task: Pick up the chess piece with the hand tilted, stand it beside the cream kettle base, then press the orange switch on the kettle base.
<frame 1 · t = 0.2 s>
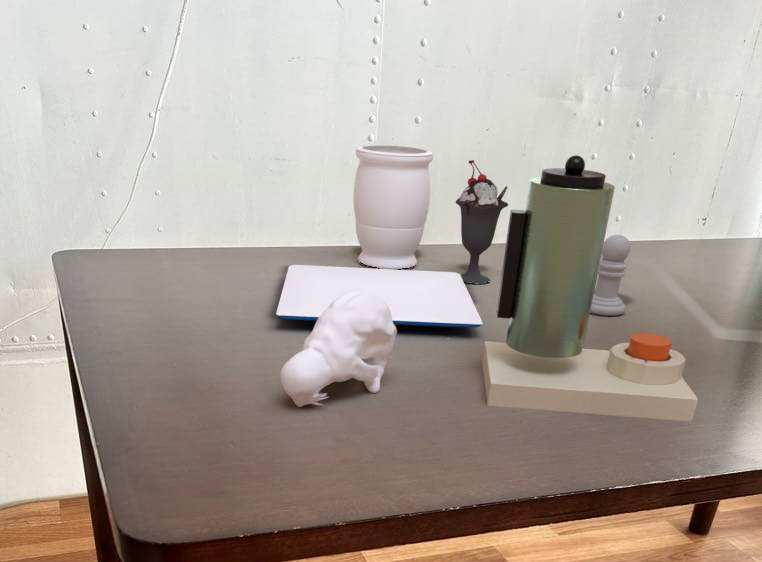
chess piece: (602, 312, 102), on the table
jar: (387, 265, 118), on the table
kettle base: (579, 390, 78), on the table
kettle: (537, 386, 78), resting on kettle base
kettle switch: (649, 348, 75), point 4 cm above the table, slide at 0.1 cm
sundae: (471, 281, 112), on the table
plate: (376, 309, 98), on the table
white hunched creature figure: (331, 396, 74), on the table
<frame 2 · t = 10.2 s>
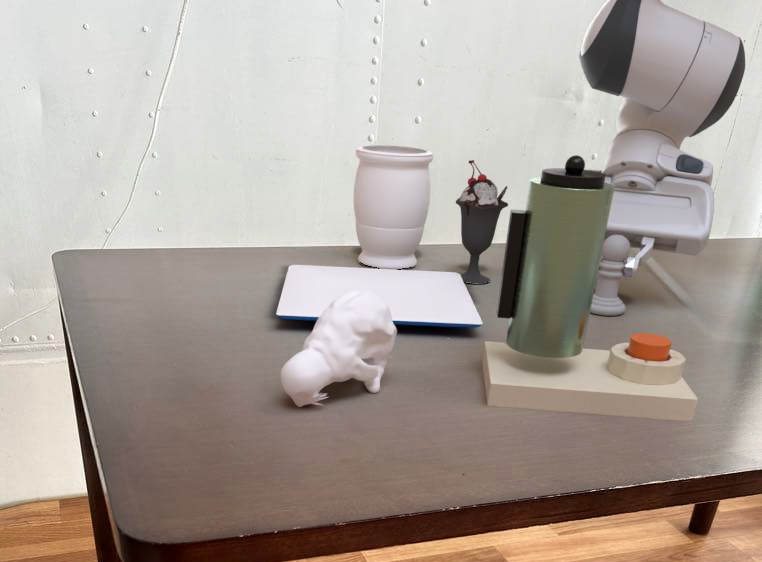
hand: (610, 271, 99), 5 cm above the table, tool tilted 45°, fingers closed on chess piece, 3 cm apart
chess piece: (602, 312, 102), on the table, touching gripper
everything else where it was.
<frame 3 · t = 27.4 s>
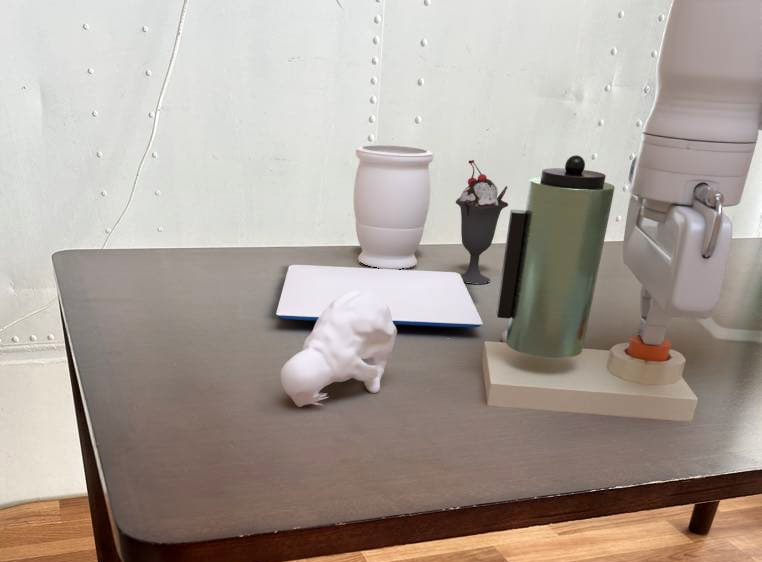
hand: (648, 340, 75), 5 cm above the table, tool pointing down, fingers closed, pressing on kettle switch
chess piece: (524, 345, 89), on the table
kettle switch: (648, 350, 75), point 4 cm above the table, slide at -0.1 cm, touching gripper
everything else where it was.
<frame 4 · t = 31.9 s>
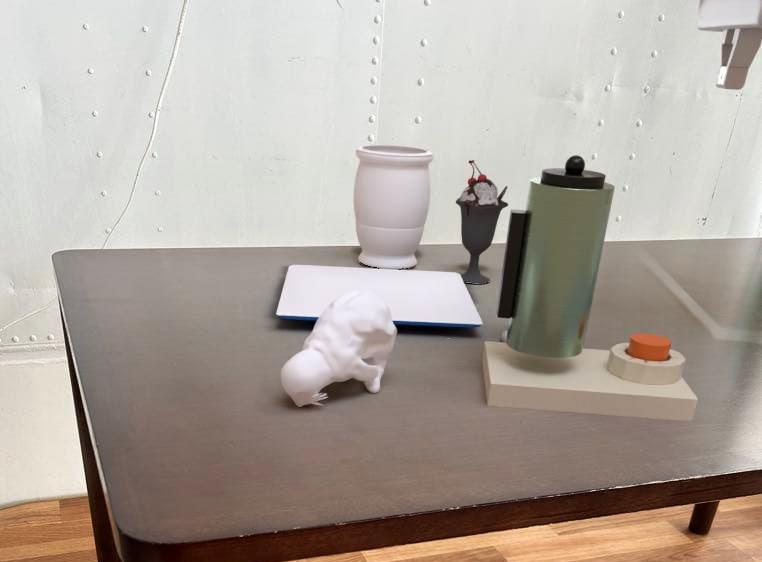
hand: (728, 89, 76), 25 cm above the table, tool pointing down, fingers closed
kettle switch: (649, 348, 75), point 4 cm above the table, slide at 0.1 cm
everything else where it was.
at the end: chess piece inside the target area on the table beside the kettle base (0.1 cm from its centre), on the table; kettle switch pushed in 1.0 cm at the most during the clip, back to where it started at the end; kettle switch slide at 0.1 cm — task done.
